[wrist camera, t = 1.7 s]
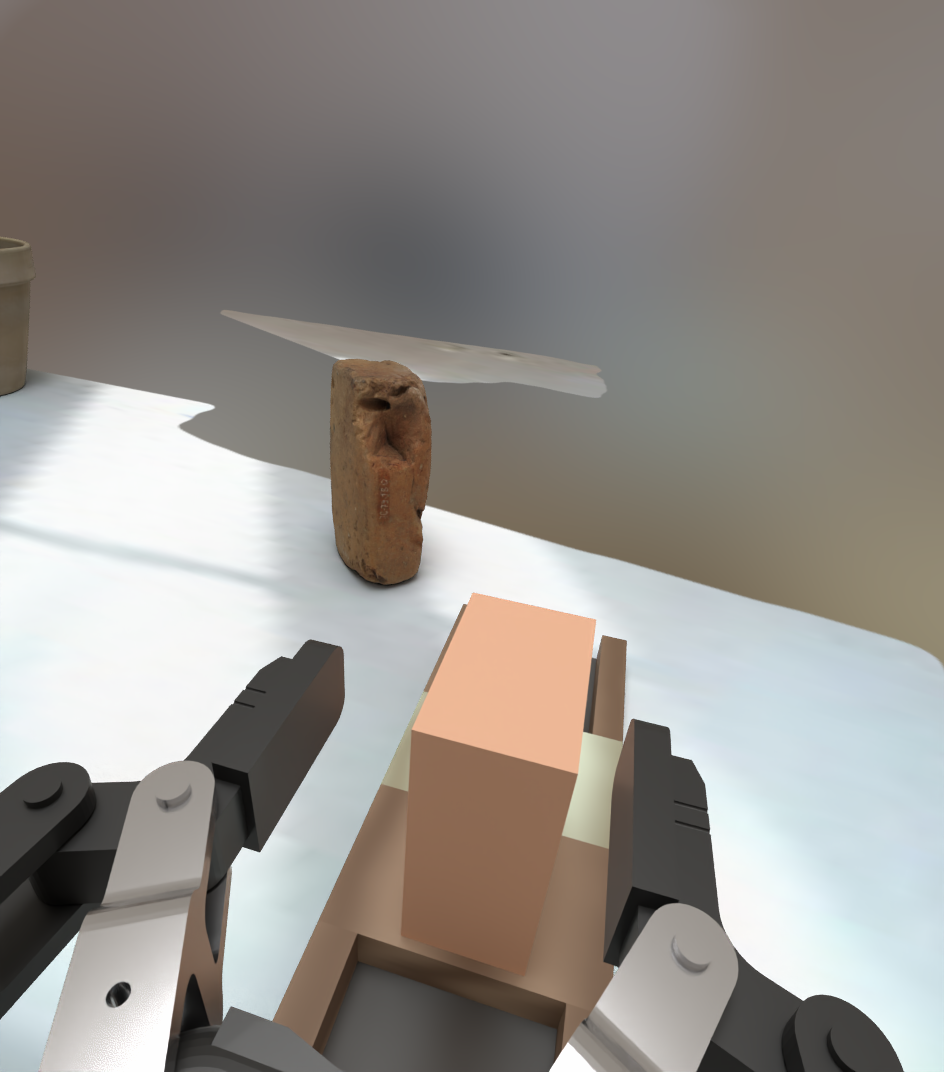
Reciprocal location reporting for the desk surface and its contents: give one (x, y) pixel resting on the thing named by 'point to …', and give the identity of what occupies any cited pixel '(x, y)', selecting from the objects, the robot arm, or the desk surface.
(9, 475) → the desk surface
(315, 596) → the desk surface
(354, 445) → the block
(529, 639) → the block
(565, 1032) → the track
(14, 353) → the plant pot
